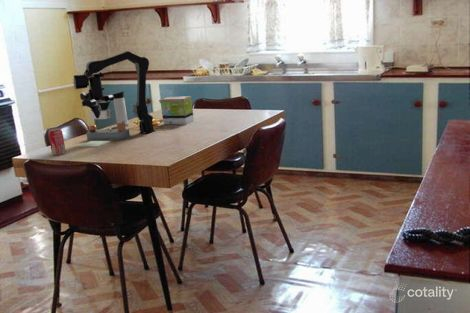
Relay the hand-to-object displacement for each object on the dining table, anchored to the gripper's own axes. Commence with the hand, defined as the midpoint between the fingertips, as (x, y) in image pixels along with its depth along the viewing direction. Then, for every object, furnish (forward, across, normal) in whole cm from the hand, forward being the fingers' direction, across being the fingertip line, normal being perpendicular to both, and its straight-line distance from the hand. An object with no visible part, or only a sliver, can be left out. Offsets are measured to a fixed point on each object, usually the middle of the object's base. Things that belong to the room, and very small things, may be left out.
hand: (100, 117), depth 266 cm
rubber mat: (+12, +9, +1) cm, 15 cm away
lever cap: (0, 0, 0) cm, 0 cm away
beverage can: (+12, +28, -4) cm, 31 cm away
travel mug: (+12, -36, -14) cm, 40 cm away
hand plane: (+12, -4, 0) cm, 13 cm away
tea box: (+12, -42, +20) cm, 48 cm away
